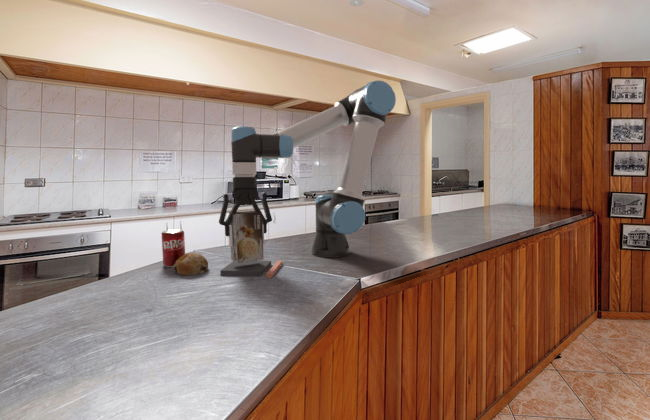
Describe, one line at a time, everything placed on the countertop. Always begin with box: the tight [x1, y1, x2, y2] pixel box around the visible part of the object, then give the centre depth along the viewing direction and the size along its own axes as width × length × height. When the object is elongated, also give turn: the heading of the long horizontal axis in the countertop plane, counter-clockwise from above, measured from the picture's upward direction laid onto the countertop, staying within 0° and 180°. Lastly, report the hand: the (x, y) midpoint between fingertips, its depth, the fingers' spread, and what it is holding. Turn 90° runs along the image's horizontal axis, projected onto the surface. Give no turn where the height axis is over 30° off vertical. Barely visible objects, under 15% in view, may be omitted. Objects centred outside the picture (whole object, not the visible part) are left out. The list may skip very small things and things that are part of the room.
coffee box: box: [228, 209, 265, 263], centre depth 116 cm, size 9×6×16 cm
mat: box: [220, 260, 272, 277], centre depth 117 cm, size 13×13×2 cm
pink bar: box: [265, 260, 283, 279], centre depth 116 cm, size 2×16×1 cm, turn 175°
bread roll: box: [172, 252, 209, 276], centre depth 115 cm, size 10×10×8 cm
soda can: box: [160, 229, 186, 268], centre depth 123 cm, size 7×7×12 cm
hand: (246, 244), depth 116 cm, fingers closed on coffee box, 9 cm apart
